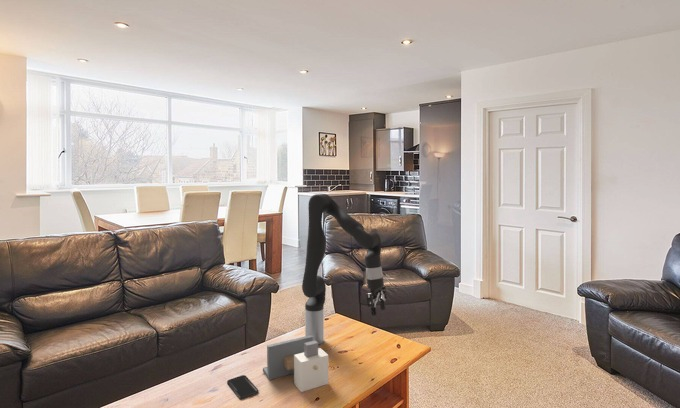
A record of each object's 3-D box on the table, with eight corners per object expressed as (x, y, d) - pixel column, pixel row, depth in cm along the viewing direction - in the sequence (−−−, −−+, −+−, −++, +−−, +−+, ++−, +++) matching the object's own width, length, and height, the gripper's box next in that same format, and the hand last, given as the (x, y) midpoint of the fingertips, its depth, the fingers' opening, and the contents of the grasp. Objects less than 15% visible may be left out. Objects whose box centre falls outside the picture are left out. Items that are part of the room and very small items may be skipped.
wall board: (262, 371, 160) (262, 339, 159) (305, 359, 170) (305, 330, 169) (272, 385, 150) (272, 351, 148) (317, 372, 159) (317, 340, 158)
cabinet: (294, 383, 151) (293, 342, 150) (320, 375, 157) (320, 336, 156) (302, 393, 144) (302, 350, 143) (329, 384, 150) (329, 344, 149)
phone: (244, 374, 156) (259, 391, 144) (244, 377, 156) (259, 393, 144) (226, 380, 152) (239, 398, 140) (226, 383, 152) (240, 401, 140)
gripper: (374, 273, 176) (378, 307, 176) (359, 280, 164) (363, 316, 164) (389, 273, 172) (393, 308, 172) (374, 280, 160) (378, 318, 160)
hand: (378, 312), depth 168 cm, fingers open, 8 cm apart
